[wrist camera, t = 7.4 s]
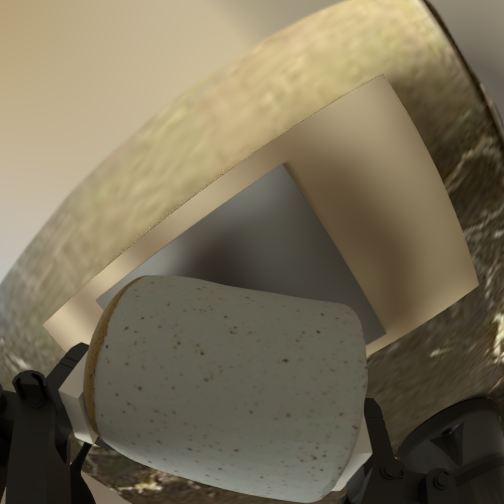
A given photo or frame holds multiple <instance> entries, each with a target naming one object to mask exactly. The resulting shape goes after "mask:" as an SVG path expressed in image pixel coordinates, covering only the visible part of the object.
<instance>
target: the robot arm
mask: <svg viewBox="0 0 504 504" xmlns="http://www.w3.org/2000/svg"><path fill="white" fill-rule="evenodd" d="M88 348H89V345H88V344H86V343H83V342H80V343H78V344H77V345H75V346H73V347H71V348H70V349H69V351H68V352H67V353H66V354H65V355H64V357H63V358H62V359H61V360H60V362H59V364H57V365H56V366H55V368H54V369H53V370H52V371H51V373H50V374H49V375H48V376H47V378H45V377H44V375H43V374H41V373H40V372H38V371H34V370H27V371H23V372H21V373H19V374H18V375H17V376H15V378H14V379H13V381H12V383H13V386H14V388H15V390H16V392H17V393H15V392H10V391H5V390H3V388H2V386H1V384H0V503H1V499H2V496H3V493H4V490H5V487H6V502H5V504H71V484H70V439H69V437H68V436H69V435H70V433H71V431H72V429H73V432H74V434H75V436H76V438H78V439H81V440H83V441H85V442H88V443H90V444H93V445H94V443H95V441H96V439H97V437H98V435H97V434H96V433H95V431H94V430H93V428H92V426H91V423H90V421H89V418H88V415H87V412H86V407H85V401H84V392H83V381H84V370H85V364H86V358H87V353H88ZM345 485H346V487H347V494H346V495H345V496H344V497H343V498H342V499H341V500H340V501H339V502H338V503H337V504H504V438H503V432H502V426H501V415H500V413H499V411H498V409H497V408H496V406H495V404H494V403H493V401H491V400H489V399H485V398H478V399H472V400H468V401H465V402H462V403H459V404H457V405H455V406H452V407H450V408H448V409H446V410H444V411H443V412H441V413H439V414H437V415H436V416H434V417H432V418H431V419H429V420H428V421H426V422H425V423H424V424H422V425H421V426H420V427H418V428H417V429H416V430H415V431H414V432H412V433H411V434H410V435H409V436H408V437H407V438H406V440H405V441H404V442H403V443H402V445H401V446H400V448H399V450H398V453H397V459H395V458H394V455H393V451H392V448H391V444H390V440H389V436H388V433H387V429H386V428H385V422H384V420H383V415H382V412H381V408H380V406H379V405H378V404H377V403H376V401H375V400H374V399H373V398H365V401H364V413H363V420H362V425H361V429H360V433H359V437H358V441H357V443H356V446H355V448H354V451H353V453H352V455H351V458H350V460H349V462H348V464H347V466H346V468H345V470H344V471H343V473H342V475H341V477H340V478H339V480H338V481H337V483H336V485H335V487H334V488H333V489H332V490H331V491H340V490H341V489H342V488H343V487H344V486H345Z"/></svg>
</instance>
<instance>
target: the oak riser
mask: <svg viewBox="0 0 504 504" xmlns="http://www.w3.org/2000/svg"><path fill="white" fill-rule="evenodd" d="M145 275H162V276H182V277H189V278H195V279H201V280H205V281H209V282H213V283H218V284H222V285H227V286H233V287H239V288H245V289H251V290H258V291H264V292H271V293H277V294H282V295H287V296H294V297H300V298H306V299H313V300H319V301H326V302H333V303H340V304H345V305H347V306H349V307H350V308H352V309H353V310H354V311H355V313H356V314H357V316H358V318H359V320H360V322H361V325H362V330H363V336H364V340H365V345H366V357H367V356H369V355H370V354H372V353H374V352H376V351H378V350H379V349H381V348H383V347H385V346H387V345H388V344H390V343H392V342H393V341H395V340H397V339H399V338H400V337H402V336H404V335H405V334H407V333H409V332H410V331H412V330H414V329H415V328H417V327H418V326H420V325H422V324H423V323H425V322H426V321H428V320H429V319H431V318H432V317H434V316H436V315H437V314H439V313H440V312H442V311H443V310H445V309H446V308H447V307H449V306H450V305H452V304H453V303H455V302H456V301H458V300H459V299H460V298H462V297H463V296H465V295H466V294H467V293H469V292H470V291H472V290H473V289H474V288H476V287H477V286H478V285H479V283H478V279H477V276H476V272H475V269H474V265H473V262H472V259H471V256H470V252H469V249H468V246H467V243H466V240H465V237H464V235H463V232H462V229H461V226H460V223H459V221H458V218H457V215H456V213H455V210H454V208H453V205H452V203H451V200H450V198H449V195H448V193H447V191H446V188H445V186H444V184H443V182H442V179H441V177H440V175H439V173H438V171H437V168H436V166H435V164H434V162H433V160H432V158H431V156H430V154H429V152H428V150H427V148H426V146H425V144H424V142H423V140H422V138H421V136H420V134H419V133H418V131H417V129H416V127H415V125H414V123H413V122H412V120H411V118H410V116H409V115H408V113H407V111H406V109H405V108H404V106H403V104H402V103H401V101H400V99H399V98H398V96H397V95H396V93H395V91H394V90H393V88H392V87H391V85H390V83H389V82H388V80H387V79H386V77H385V76H384V74H382V75H380V76H378V77H376V78H374V79H372V80H371V81H369V82H367V83H365V84H363V85H362V86H360V87H358V88H356V89H355V90H353V91H351V92H349V93H348V94H346V95H344V96H343V97H341V98H339V99H338V100H336V101H334V102H333V103H331V104H329V105H328V106H326V107H324V108H323V109H321V110H319V111H318V112H316V113H315V114H313V115H311V116H310V117H308V118H307V119H305V120H303V121H302V122H300V123H299V124H297V125H296V126H294V127H293V128H291V129H289V130H288V131H286V132H285V133H283V134H282V135H280V136H279V137H277V138H276V139H274V140H273V141H271V142H270V143H268V144H267V145H265V146H264V147H262V148H261V149H259V150H258V151H256V152H255V153H254V154H252V155H251V156H249V157H248V158H246V159H245V160H243V161H242V162H241V163H239V164H238V165H236V166H235V167H233V168H232V169H231V170H229V171H228V172H226V173H225V174H224V175H222V176H221V177H219V178H218V179H217V180H215V181H214V182H213V183H211V184H210V185H208V186H207V187H206V188H204V189H203V190H202V191H200V192H199V193H198V194H196V195H195V196H194V197H192V198H191V199H190V200H188V201H187V202H186V203H184V204H183V205H182V206H181V207H179V208H178V209H177V210H175V211H174V212H173V213H171V214H170V215H169V216H168V217H166V218H165V219H164V220H163V221H161V222H160V223H159V224H157V225H156V226H155V227H154V228H152V229H151V230H150V231H149V232H147V233H146V234H145V235H144V236H143V237H141V238H140V239H139V240H138V241H136V242H135V243H134V244H133V245H132V246H130V247H129V248H128V249H127V250H126V251H124V252H123V253H122V254H121V255H120V256H118V257H117V258H116V259H115V260H114V261H113V262H111V263H110V264H109V265H108V266H107V267H106V268H104V269H103V270H102V271H101V272H100V273H99V274H97V275H96V276H95V277H94V278H93V279H92V280H91V281H90V282H88V283H87V284H86V285H85V286H84V287H83V288H82V289H81V290H80V291H78V292H77V293H76V294H75V295H74V296H73V297H72V298H71V299H70V300H69V301H68V302H67V303H65V304H64V305H63V306H62V307H61V308H60V309H59V310H58V311H57V312H56V313H55V314H54V315H53V316H52V317H51V318H50V319H49V320H48V321H47V322H46V323H44V324H43V326H44V327H45V329H46V330H47V331H48V332H49V333H50V335H51V336H52V337H53V338H54V339H55V340H56V342H57V343H58V344H59V345H60V346H61V347H62V348H63V350H64V351H65V352H66V353H67V352H68V351H69V349H70V348H71V347H73V346H75V345H77V344H78V343H80V342H83V343H86V344H88V345H90V342H91V338H92V335H93V333H94V331H95V328H96V326H97V324H98V322H99V319H100V317H101V315H102V313H103V311H104V310H105V308H106V307H107V305H108V304H109V302H110V301H111V299H112V298H113V297H114V296H115V295H116V294H117V293H118V292H119V291H120V290H121V289H122V288H123V287H124V286H125V285H127V284H128V283H130V282H131V281H133V280H134V279H136V278H138V277H141V276H145Z"/></svg>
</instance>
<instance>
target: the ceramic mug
mask: <svg viewBox="0 0 504 504" xmlns="http://www.w3.org/2000/svg"><path fill="white" fill-rule="evenodd" d="M367 379H368V368H367V357H366V345H365V340H364V336H363V330H362V325H361V322H360V320H359V318H358V316H357V314H356V313H355V311H354V310H353V309H352V308H350V307H349V306H347V305H345V304H340V303H333V302H326V301H319V300H313V299H306V298H300V297H294V296H287V295H282V294H277V293H271V292H264V291H258V290H251V289H245V288H239V287H233V286H227V285H222V284H218V283H213V282H209V281H205V280H201V279H195V278H189V277H182V276H162V275H145V276H141V277H138V278H136V279H134V280H133V281H131V282H130V283H128V284H127V285H125V286H124V287H123V288H122V289H121V290H120V291H119V292H118V293H117V294H116V295H115V296H114V297H113V298H112V299H111V301H110V302H109V304H108V305H107V307H106V308H105V310H104V311H103V313H102V315H101V317H100V319H99V322H98V324H97V326H96V328H95V331H94V333H93V335H92V338H91V342H90V345H89V348H88V353H87V358H86V364H85V370H84V381H83V392H84V401H85V407H86V412H87V415H88V418H89V421H90V423H91V426H92V428H93V430H94V431H95V433H96V434H97V435H98V436H99V437H100V439H102V440H103V441H104V442H106V443H107V444H108V445H110V446H111V447H112V448H114V449H115V450H117V451H118V452H120V453H122V454H123V455H125V456H127V457H129V458H130V459H132V460H135V461H137V462H139V463H142V464H144V465H147V466H149V467H152V468H155V469H157V470H160V471H163V472H167V473H170V474H174V475H177V476H181V477H184V478H187V479H191V480H194V481H197V482H201V483H204V484H208V485H212V486H216V487H219V488H223V489H228V490H232V491H236V492H241V493H246V494H250V495H256V496H262V497H268V498H274V499H280V500H287V501H294V502H302V503H310V502H315V501H319V500H321V499H322V498H324V497H325V496H326V495H327V494H329V492H330V491H331V490H332V489H333V488H334V487H335V485H336V483H337V481H338V480H339V478H340V477H341V475H342V473H343V471H344V470H345V468H346V466H347V464H348V462H349V460H350V458H351V455H352V453H353V451H354V448H355V446H356V443H357V441H358V437H359V433H360V429H361V425H362V420H363V413H364V401H365V395H366V390H367Z"/></svg>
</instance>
